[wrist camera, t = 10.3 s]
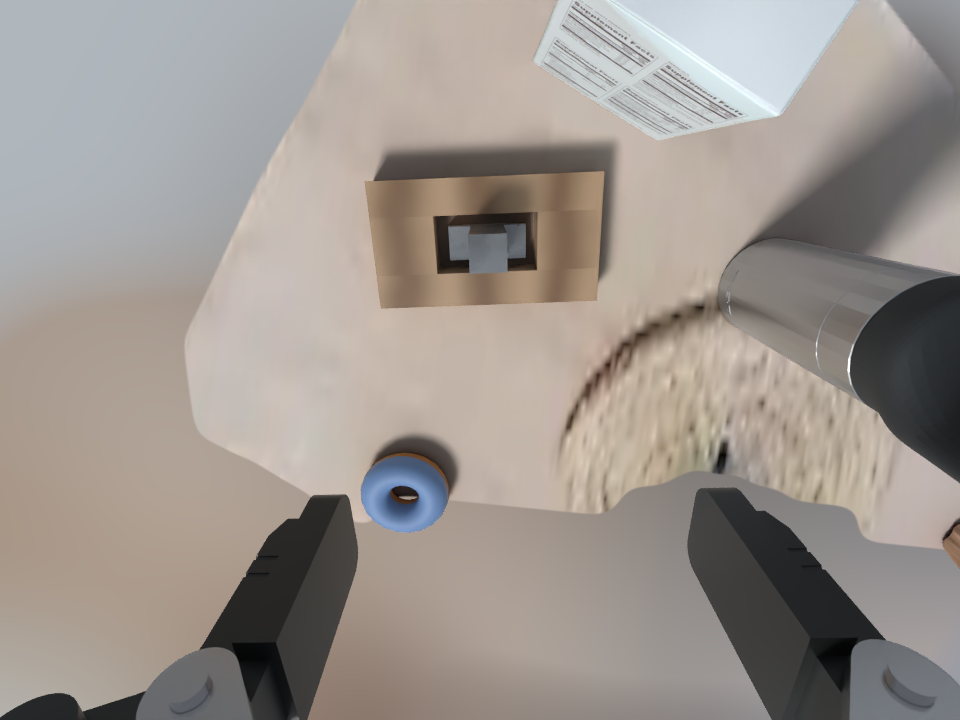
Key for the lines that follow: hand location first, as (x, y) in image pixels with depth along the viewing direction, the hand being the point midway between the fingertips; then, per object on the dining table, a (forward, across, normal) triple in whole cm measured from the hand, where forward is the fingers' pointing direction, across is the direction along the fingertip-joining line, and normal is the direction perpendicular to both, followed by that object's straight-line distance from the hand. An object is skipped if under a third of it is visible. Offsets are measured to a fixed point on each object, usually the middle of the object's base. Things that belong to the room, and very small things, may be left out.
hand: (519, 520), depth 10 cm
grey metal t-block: (+35, +1, -2) cm, 35 cm away
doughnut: (+36, +11, +26) cm, 45 cm away
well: (+35, +1, -2) cm, 35 cm away
